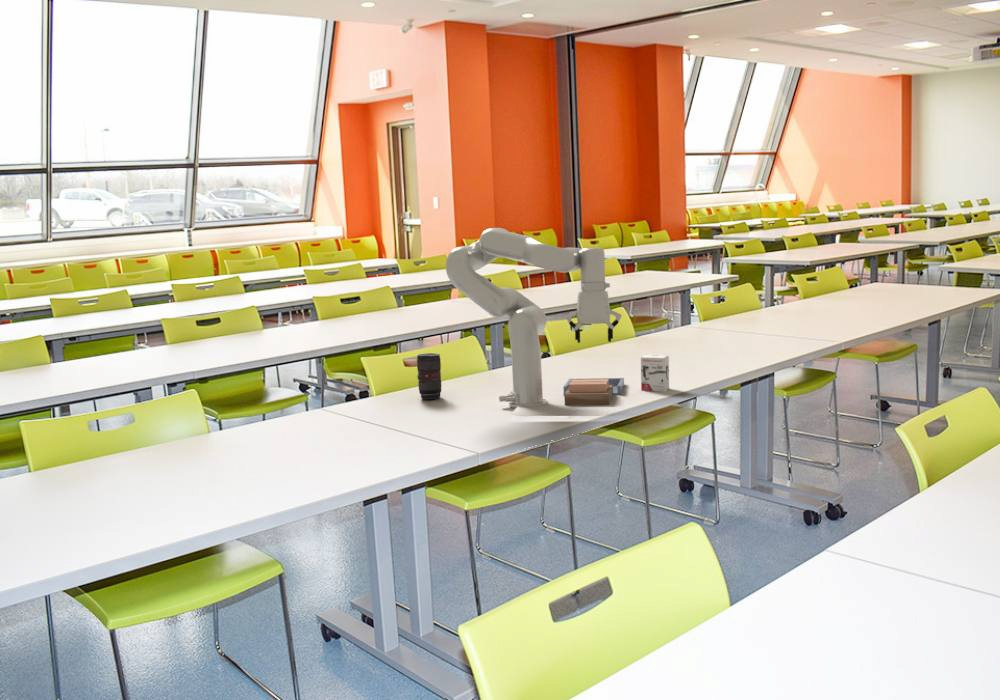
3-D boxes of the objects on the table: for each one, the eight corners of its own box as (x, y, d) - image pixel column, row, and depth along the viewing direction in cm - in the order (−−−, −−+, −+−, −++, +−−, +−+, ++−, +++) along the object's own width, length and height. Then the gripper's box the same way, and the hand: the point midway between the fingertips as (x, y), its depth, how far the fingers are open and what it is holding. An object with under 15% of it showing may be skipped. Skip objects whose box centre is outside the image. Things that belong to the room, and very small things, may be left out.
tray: (620, 394, 297) (620, 386, 296) (563, 395, 301) (563, 386, 300) (624, 386, 312) (623, 377, 312) (569, 387, 316) (569, 378, 316)
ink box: (640, 391, 302) (639, 356, 300) (645, 388, 306) (644, 354, 304) (665, 392, 297) (664, 357, 296) (669, 389, 302) (669, 355, 300)
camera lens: (439, 399, 305) (436, 355, 303) (416, 399, 307) (413, 356, 305) (445, 395, 313) (442, 352, 311) (423, 395, 314) (420, 353, 312)
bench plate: (609, 404, 282) (608, 393, 281) (564, 405, 285) (564, 394, 284) (613, 395, 297) (612, 384, 297) (571, 395, 300) (570, 385, 300)
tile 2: (607, 388, 290) (607, 381, 289) (570, 389, 292) (570, 381, 292) (608, 386, 294) (608, 379, 293) (572, 387, 296) (572, 379, 296)
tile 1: (606, 391, 285) (606, 384, 284) (568, 392, 287) (568, 384, 287) (607, 389, 289) (607, 381, 288) (570, 389, 291) (570, 382, 291)
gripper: (619, 285, 283) (620, 339, 285) (564, 287, 284) (566, 341, 286) (622, 287, 276) (622, 342, 278) (565, 289, 276) (567, 344, 279)
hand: (594, 341), depth 282 cm, fingers open, 9 cm apart
